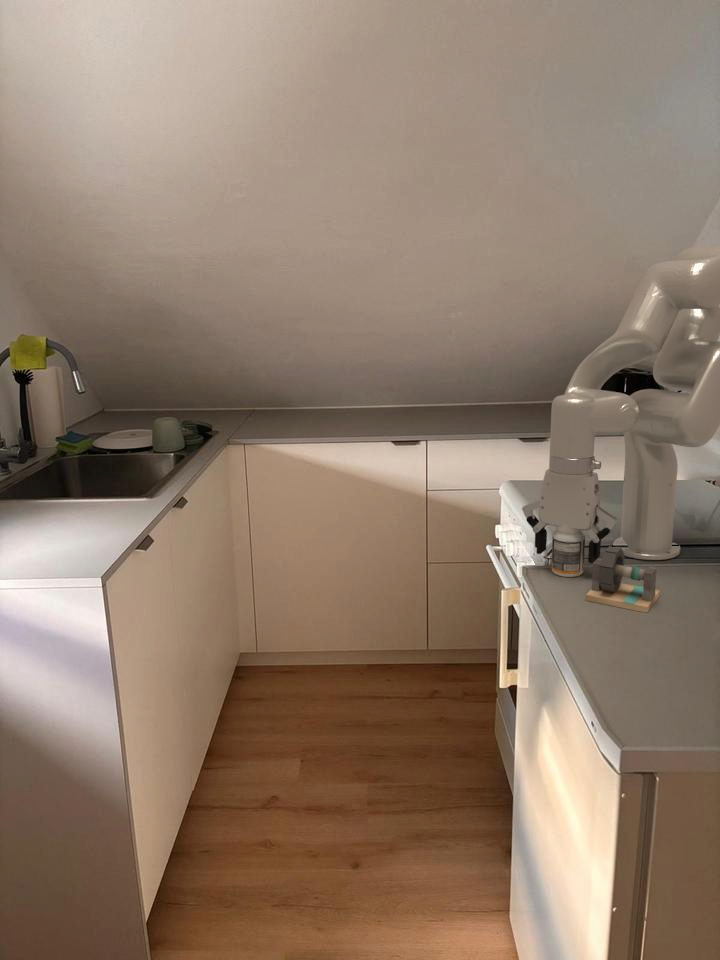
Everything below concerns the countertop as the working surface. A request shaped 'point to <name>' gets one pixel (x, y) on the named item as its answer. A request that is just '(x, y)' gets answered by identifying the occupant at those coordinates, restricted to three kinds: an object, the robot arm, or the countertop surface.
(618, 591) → the rail
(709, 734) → the countertop surface
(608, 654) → the countertop surface
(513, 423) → the countertop surface
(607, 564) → the octagonal nut
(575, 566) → the pill bottle
